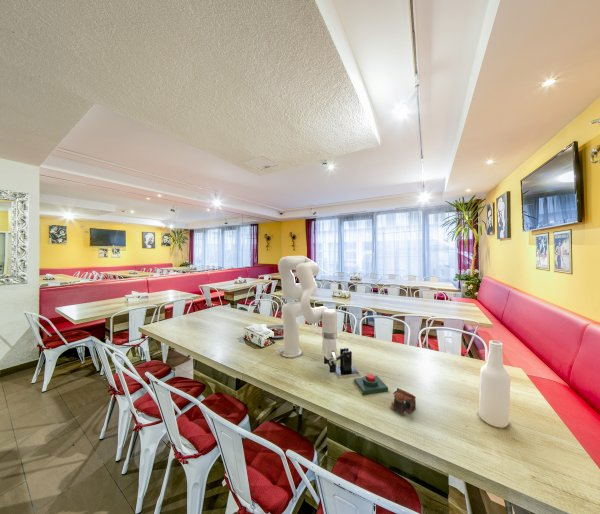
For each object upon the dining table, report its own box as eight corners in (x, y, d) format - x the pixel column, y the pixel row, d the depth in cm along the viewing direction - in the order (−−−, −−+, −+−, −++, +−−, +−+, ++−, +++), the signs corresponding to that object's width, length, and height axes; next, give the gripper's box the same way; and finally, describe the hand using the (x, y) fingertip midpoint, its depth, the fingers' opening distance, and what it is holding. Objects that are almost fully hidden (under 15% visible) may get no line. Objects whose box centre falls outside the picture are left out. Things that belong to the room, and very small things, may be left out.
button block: (363, 395, 106) (363, 386, 106) (353, 382, 116) (353, 374, 115) (388, 392, 108) (388, 383, 108) (376, 379, 118) (376, 371, 118)
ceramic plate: (285, 342, 164) (285, 337, 164) (253, 337, 173) (253, 333, 173) (299, 329, 189) (299, 325, 188) (269, 326, 197) (269, 322, 197)
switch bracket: (339, 378, 120) (338, 355, 119) (332, 369, 129) (332, 347, 128) (359, 375, 122) (359, 352, 121) (352, 366, 131) (352, 345, 130)
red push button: (368, 382, 110) (368, 378, 109) (365, 378, 113) (365, 374, 113) (376, 381, 110) (376, 377, 110) (372, 377, 114) (372, 373, 114)
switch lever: (331, 369, 121) (328, 365, 120) (327, 364, 126) (325, 360, 125) (351, 356, 123) (348, 352, 122) (347, 351, 128) (345, 348, 127)
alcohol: (472, 413, 94) (475, 338, 92) (490, 410, 96) (493, 336, 94) (495, 430, 85) (498, 348, 84) (514, 426, 87) (518, 345, 86)
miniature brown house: (384, 404, 100) (390, 384, 103) (404, 413, 101) (409, 392, 104) (402, 417, 89) (408, 393, 91) (424, 426, 90) (429, 403, 92)
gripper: (317, 329, 130) (318, 360, 131) (328, 341, 113) (328, 377, 114) (331, 328, 132) (331, 359, 133) (343, 340, 115) (343, 375, 116)
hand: (329, 367), depth 123 cm, fingers open, 8 cm apart
